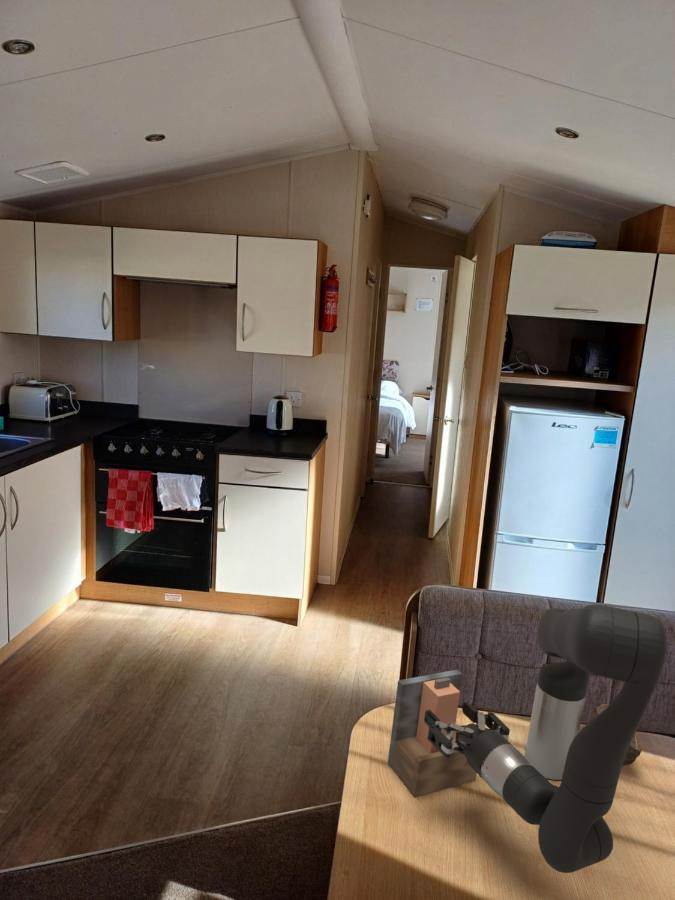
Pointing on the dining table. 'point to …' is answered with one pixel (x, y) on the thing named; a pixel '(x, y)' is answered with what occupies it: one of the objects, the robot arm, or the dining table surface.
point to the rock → (634, 746)
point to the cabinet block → (437, 708)
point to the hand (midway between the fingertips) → (445, 710)
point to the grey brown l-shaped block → (410, 755)
